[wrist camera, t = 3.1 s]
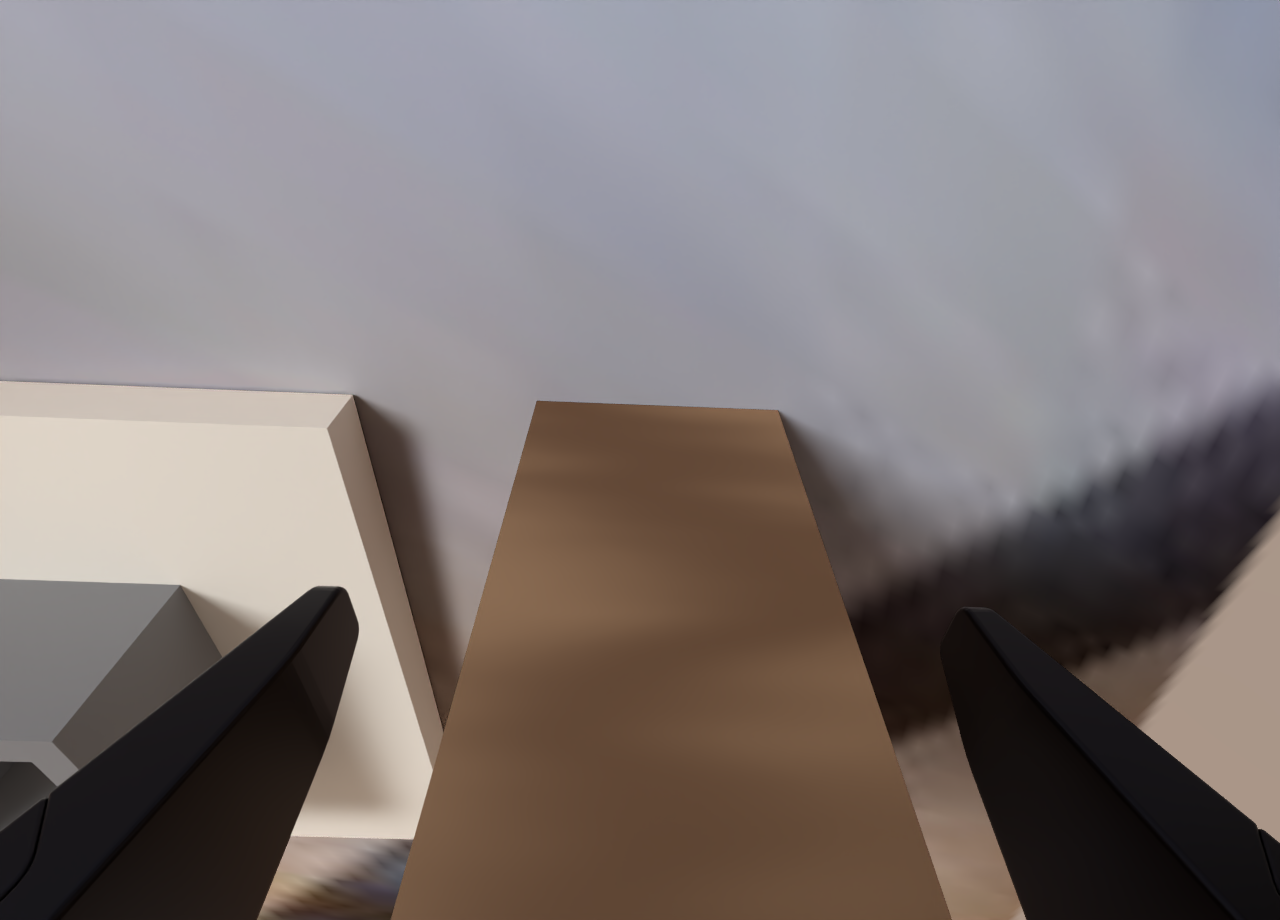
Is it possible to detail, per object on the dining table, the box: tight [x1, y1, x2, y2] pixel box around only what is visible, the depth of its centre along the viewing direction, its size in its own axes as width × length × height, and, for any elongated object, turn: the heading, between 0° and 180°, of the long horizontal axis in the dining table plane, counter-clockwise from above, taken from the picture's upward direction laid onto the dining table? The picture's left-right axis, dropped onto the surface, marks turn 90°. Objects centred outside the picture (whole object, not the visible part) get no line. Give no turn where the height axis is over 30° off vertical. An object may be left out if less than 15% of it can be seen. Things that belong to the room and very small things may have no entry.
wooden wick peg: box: [391, 401, 952, 920], centre depth 8 cm, size 4×4×9 cm
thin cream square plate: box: [0, 381, 444, 839], centre depth 12 cm, size 14×14×4 cm
